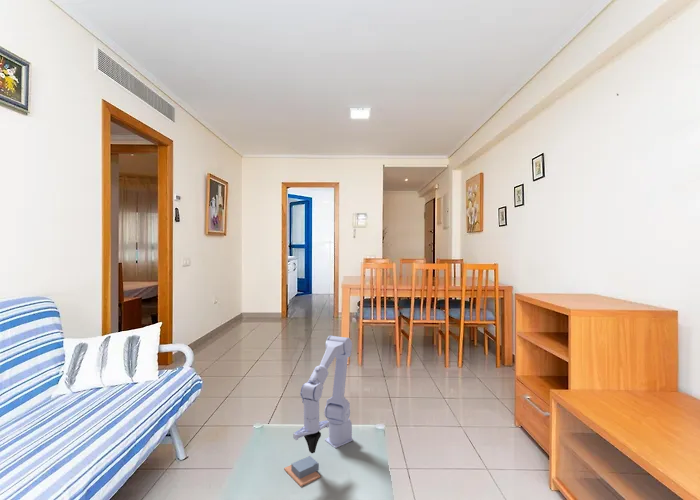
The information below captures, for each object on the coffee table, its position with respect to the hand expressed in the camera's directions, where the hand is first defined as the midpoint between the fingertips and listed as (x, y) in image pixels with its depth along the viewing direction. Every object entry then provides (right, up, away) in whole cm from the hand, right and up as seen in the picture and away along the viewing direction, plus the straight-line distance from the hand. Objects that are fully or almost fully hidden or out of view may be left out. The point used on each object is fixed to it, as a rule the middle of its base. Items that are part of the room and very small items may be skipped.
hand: (312, 451), depth 133 cm
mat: (-3, -6, -3) cm, 8 cm away
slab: (+1, -4, +1) cm, 4 cm away
